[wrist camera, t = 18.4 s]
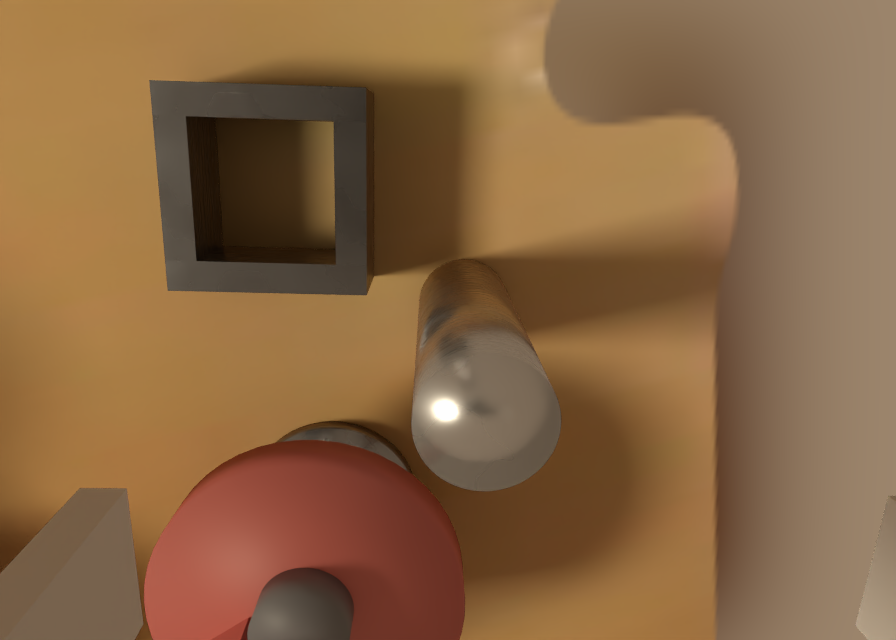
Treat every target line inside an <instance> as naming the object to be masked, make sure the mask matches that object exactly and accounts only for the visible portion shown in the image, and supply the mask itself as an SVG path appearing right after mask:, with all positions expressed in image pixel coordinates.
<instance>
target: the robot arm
mask: <svg viewBox="0 0 896 640" xmlns="http://www.w3.org/2000/svg"><path fill="white" fill-rule="evenodd" d="M142 626H143V617H142V609H141V601H140V593H139V584H138V576H137V568H136V560H135V552H134V544H133V536H132V528H131V520H130V511H129V503H128V495H127V489H122V488H80V489H79V490H78V491H77V492H76V493H75V494H74V495H73V496H72V497H71V498H70V499H69V500H68V501H67V503H66V504H65V505H64V506H63V507H62V508H61V509H60V510H59V511H58V512H57V513H56V514H55V515H54V516H53V517H52V519H51V520H50V521H49V522H48V523H47V524H46V525H45V526H44V527H43V528H42V529H41V530H40V531H39V532H38V534H37V535H36V536H35V537H34V538H33V539H32V540H31V541H30V542H29V543H28V544H27V545H26V546H25V547H24V548H23V550H22V551H21V552H20V553H19V554H18V555H17V556H16V557H15V558H14V559H13V560H12V561H11V562H10V563H9V565H8V566H7V567H6V568H5V569H4V570H3V571H2V572H1V573H0V640H135V638H136V637H137V635H138V633H139V631H140V629H141V628H142ZM856 626H857V628H858V629H859V630H860V631H861V632H862V633H863V635H864V636H865V637H866V638H867V639H868V640H896V496H888V499H887V503H886V507H885V511H884V514H883V518H882V523H881V526H880V530H879V535H878V538H877V542H876V546H875V550H874V554H873V558H872V562H871V566H870V570H869V574H868V578H867V582H866V586H865V590H864V594H863V597H862V602H861V605H860V610H859V613H858V618H857V621H856Z"/></svg>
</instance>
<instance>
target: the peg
mask: <svg viewBox="0 0 896 640" xmlns="http://www.w3.org/2000/svg"><path fill="white" fill-rule="evenodd" d="M411 426H412V435H413V440H414V443H415V446H416V449H417V451H418V453H419V455H420V457H421V458H422V460H423V461H424V463H425V464H426V465H427V466H428V467H429V469H430V470H431V471H432V472H434V473H435V474H436V475H437V476H438V477H440V478H441V479H443V480H445V481H446V482H448V483H450V484H452V485H454V486H457V487H460V488H463V489H468V490H473V491H495V490H501V489H505V488H509V487H512V486H514V485H517V484H519V483H521V482H523V481H525V480H526V479H528V478H530V477H531V476H532V475H534V474H535V473H536V472H537V471H538V470H539V469H540V468H542V467H543V465H544V464H545V463H546V462H547V461H548V459H549V458H550V456H551V455H552V453H553V451H554V449H555V447H556V445H557V442H558V439H559V435H560V429H561V411H560V406H559V402H558V399H557V397H556V394H555V392H554V390H553V388H552V386H551V384H550V381H549V379H548V377H547V375H546V373H545V371H544V369H543V367H542V365H541V362H540V360H539V358H538V356H537V354H536V352H535V350H534V348H533V346H532V344H531V341H530V339H529V337H528V335H527V333H526V331H525V329H524V327H523V325H522V322H521V320H520V318H519V316H518V314H517V312H516V310H515V308H514V306H513V303H512V301H511V299H510V297H509V295H508V293H507V291H506V289H505V287H504V284H503V282H502V281H501V279H500V277H499V276H498V275H497V274H496V273H495V272H494V271H493V270H492V269H491V268H489V267H488V266H486V265H485V264H483V263H480V262H477V261H474V260H467V259H461V260H454V261H450V262H447V263H445V264H443V265H441V266H439V267H438V268H437V269H435V270H434V271H433V272H432V273H431V274H430V275H429V276H428V278H427V279H426V281H425V282H424V284H423V287H422V289H421V293H420V299H419V314H418V329H417V345H416V360H415V375H414V391H413V406H412V421H411Z"/></svg>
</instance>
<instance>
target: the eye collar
mask: <svg viewBox="0 0 896 640" xmlns="http://www.w3.org/2000/svg"><path fill="white" fill-rule="evenodd" d="M149 81H150V92H151V104H152V115H153V127H154V138H155V150H156V161H157V172H158V184H159V195H160V207H161V218H162V230H163V241H164V253H165V264H166V276H167V287H168V291H209V292H252V293H294V294H337V295H367V293H368V291H369V288H370V285H371V283H372V280H373V278H374V93H373V92H372V91H370V90H369V89H367V88H362V87H332V86H303V85H273V84H244V83H214V82H185V81H155V80H149ZM215 118H234V119H265V120H296V121H327V122H334V176H335V239H336V249H313V248H274V247H236V246H223V232H222V216H221V200H220V184H219V168H218V152H217V136H216V120H215Z"/></svg>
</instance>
